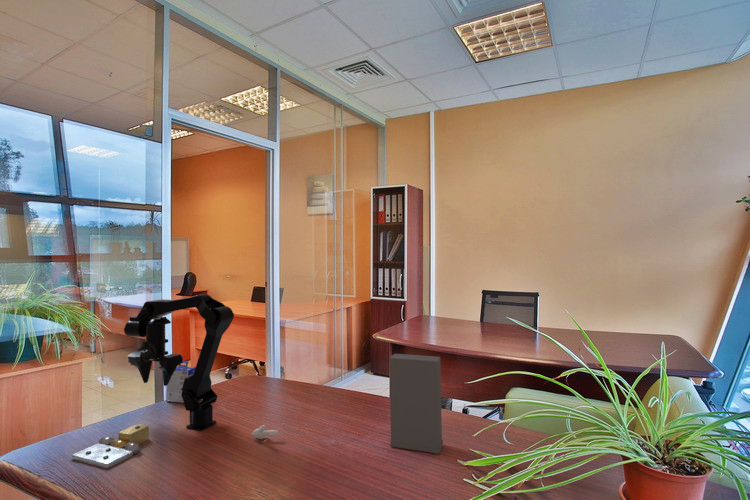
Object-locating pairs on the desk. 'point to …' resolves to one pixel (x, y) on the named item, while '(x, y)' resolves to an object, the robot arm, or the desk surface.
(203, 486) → the desk surface
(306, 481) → the desk surface
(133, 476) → the desk surface
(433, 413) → the upright charcoal grey block
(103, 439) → the steel leaf
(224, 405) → the desk surface
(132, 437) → the brass leaf
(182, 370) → the ink cartridge box
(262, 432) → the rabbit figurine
